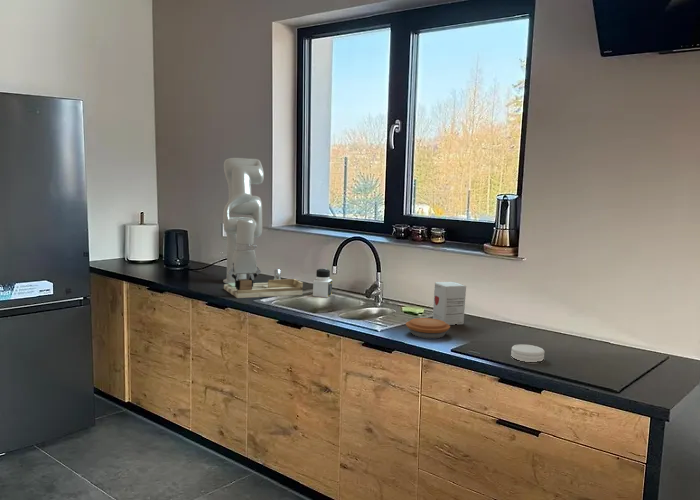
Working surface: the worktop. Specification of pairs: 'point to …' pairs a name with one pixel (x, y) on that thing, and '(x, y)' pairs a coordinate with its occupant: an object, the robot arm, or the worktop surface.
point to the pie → (427, 327)
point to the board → (269, 289)
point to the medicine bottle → (322, 283)
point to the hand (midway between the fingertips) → (244, 288)
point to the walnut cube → (245, 284)
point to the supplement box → (449, 302)
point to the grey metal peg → (277, 274)
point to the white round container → (527, 353)
